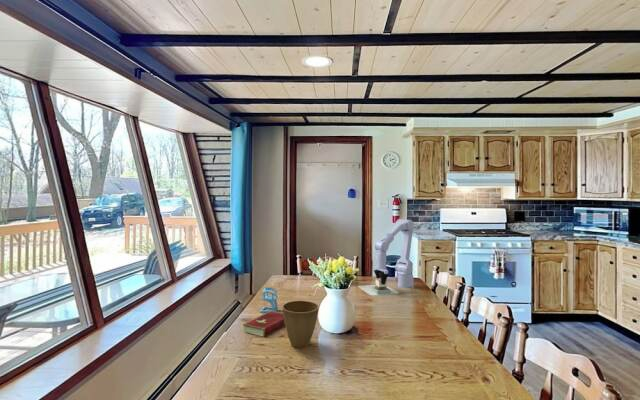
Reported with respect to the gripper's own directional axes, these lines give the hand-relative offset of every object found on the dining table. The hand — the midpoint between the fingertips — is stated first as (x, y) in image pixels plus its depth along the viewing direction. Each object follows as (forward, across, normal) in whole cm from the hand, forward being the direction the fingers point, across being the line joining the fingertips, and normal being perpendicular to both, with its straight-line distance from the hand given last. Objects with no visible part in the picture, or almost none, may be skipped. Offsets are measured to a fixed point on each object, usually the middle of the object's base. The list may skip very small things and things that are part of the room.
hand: (381, 283), depth 232 cm
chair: (+7, +15, -70) cm, 72 cm away
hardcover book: (+7, +37, -74) cm, 83 cm away
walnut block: (+6, 0, 0) cm, 6 cm away
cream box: (+2, 0, 0) cm, 2 cm away
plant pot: (+7, +60, -64) cm, 88 cm away
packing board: (+6, -6, +1) cm, 9 cm away
